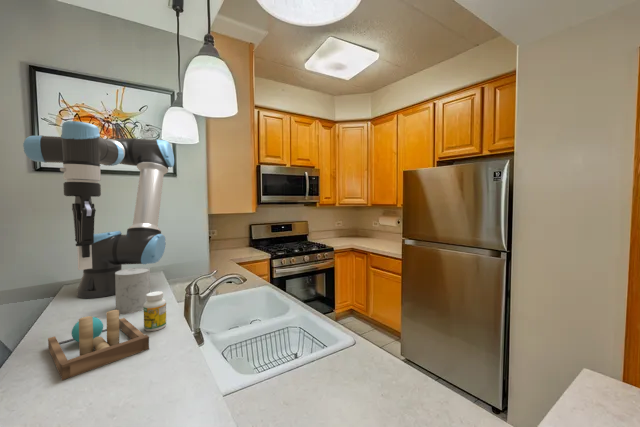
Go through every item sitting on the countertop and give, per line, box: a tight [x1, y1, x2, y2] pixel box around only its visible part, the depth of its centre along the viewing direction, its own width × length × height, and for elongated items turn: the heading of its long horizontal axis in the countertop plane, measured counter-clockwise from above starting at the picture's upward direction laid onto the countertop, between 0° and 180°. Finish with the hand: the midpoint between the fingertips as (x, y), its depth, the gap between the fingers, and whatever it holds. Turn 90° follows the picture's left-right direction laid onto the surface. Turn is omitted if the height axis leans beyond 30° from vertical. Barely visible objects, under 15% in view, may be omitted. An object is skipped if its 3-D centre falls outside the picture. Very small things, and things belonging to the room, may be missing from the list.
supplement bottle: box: [143, 290, 167, 332], centre depth 76 cm, size 5×5×10 cm
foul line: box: [58, 328, 107, 345], centre depth 71 cm, size 1×13×1 cm, turn 141°
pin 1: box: [78, 315, 94, 356], centre depth 62 cm, size 2×2×8 cm
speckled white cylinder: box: [115, 267, 151, 315], centre depth 90 cm, size 10×10×12 cm
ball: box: [71, 316, 104, 343], centre depth 68 cm, size 6×6×6 cm
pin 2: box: [105, 309, 120, 346], centre depth 66 cm, size 2×2×8 cm
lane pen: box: [47, 317, 150, 381], centre depth 65 cm, size 18×15×3 cm
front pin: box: [93, 335, 110, 351], centre depth 63 cm, size 2×2×8 cm
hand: (85, 268), depth 74 cm, fingers closed
